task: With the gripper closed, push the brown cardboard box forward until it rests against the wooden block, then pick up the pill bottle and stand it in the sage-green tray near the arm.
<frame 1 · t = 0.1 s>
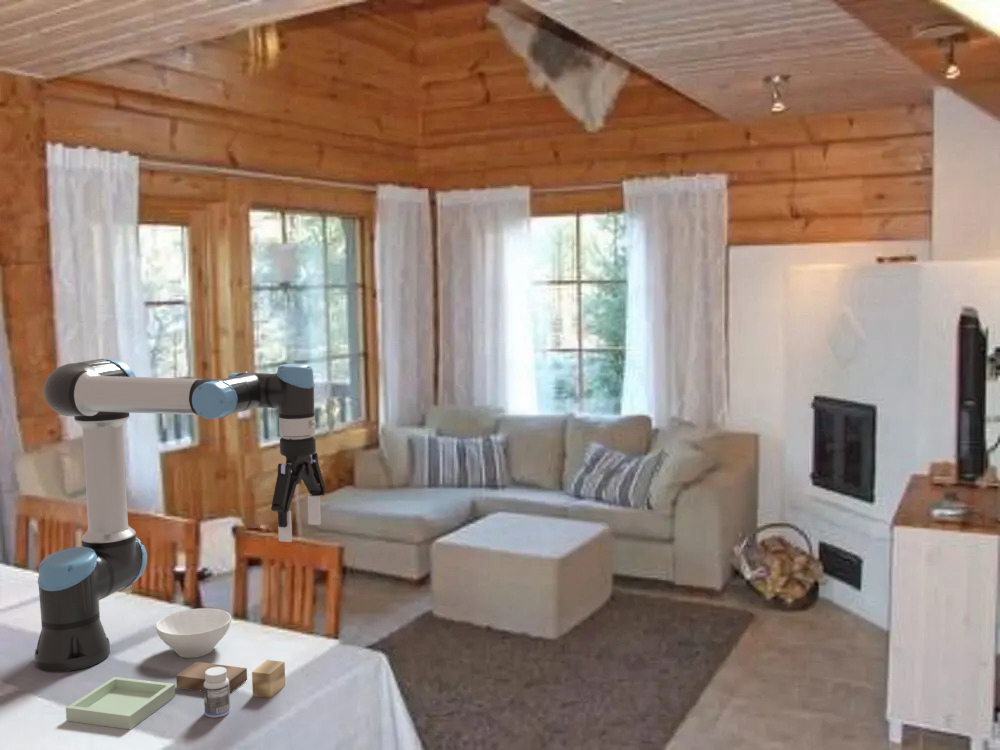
hand: (300, 532, 202), 28 cm above the table, fingers open, 13 cm apart
brown cardboard box: (212, 685, 192), on the table
tray: (122, 708, 181), on the table
pill bottle: (217, 713, 179), on the table
bowl: (195, 652, 209), on the table
wooden block: (269, 690, 189), on the table
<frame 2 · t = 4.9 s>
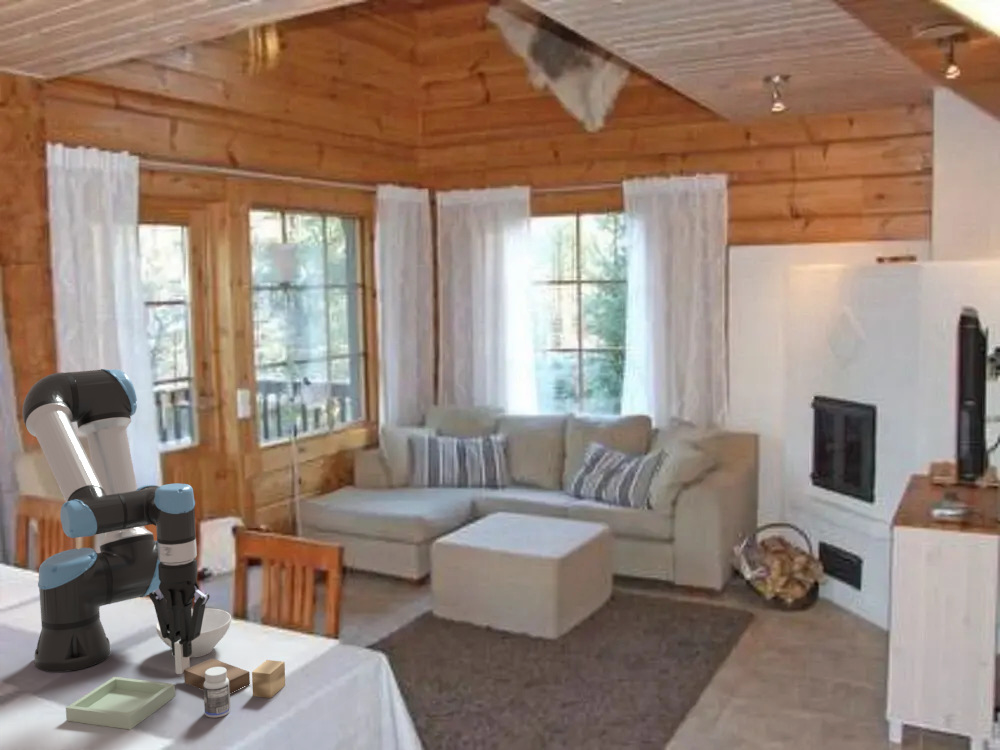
hand: (182, 670, 193), 2 cm above the table, fingers closed
brown cardboard box: (217, 684, 192), on the table, touching gripper
everything else where it was.
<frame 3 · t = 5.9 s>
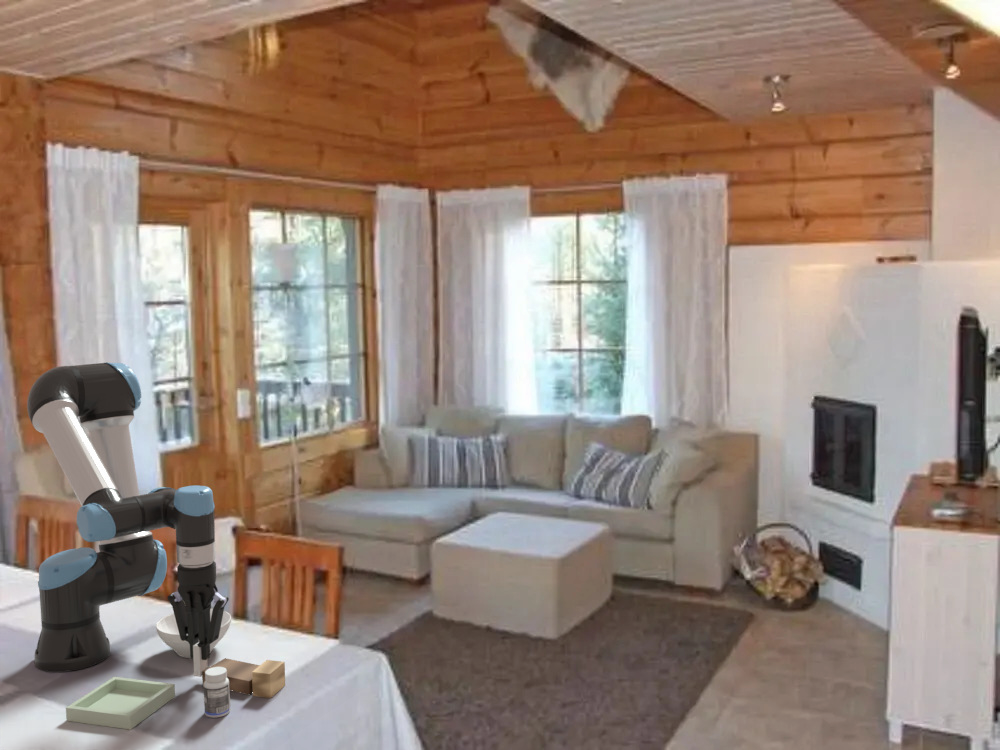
hand: (201, 673, 192), 2 cm above the table, fingers closed
brown cardboard box: (237, 683, 192), on the table, touching wooden block, gripper
everything else where it was.
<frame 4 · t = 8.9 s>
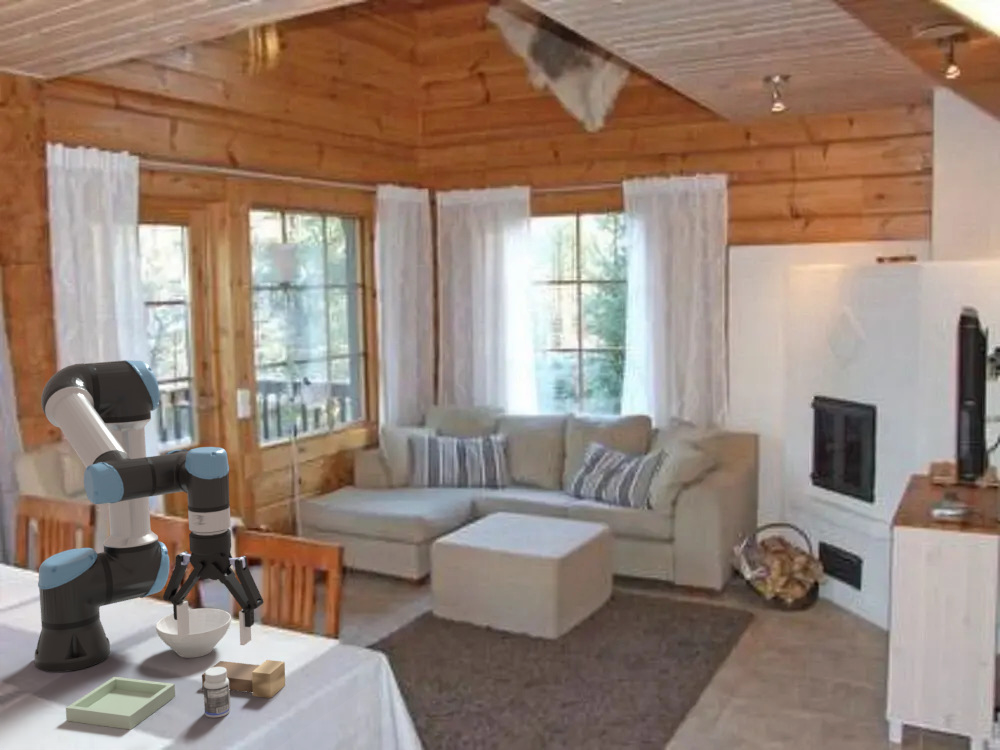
hand: (214, 639, 178), 15 cm above the table, fingers open, 13 cm apart
brown cardboard box: (237, 684, 192), on the table
everything else where it was.
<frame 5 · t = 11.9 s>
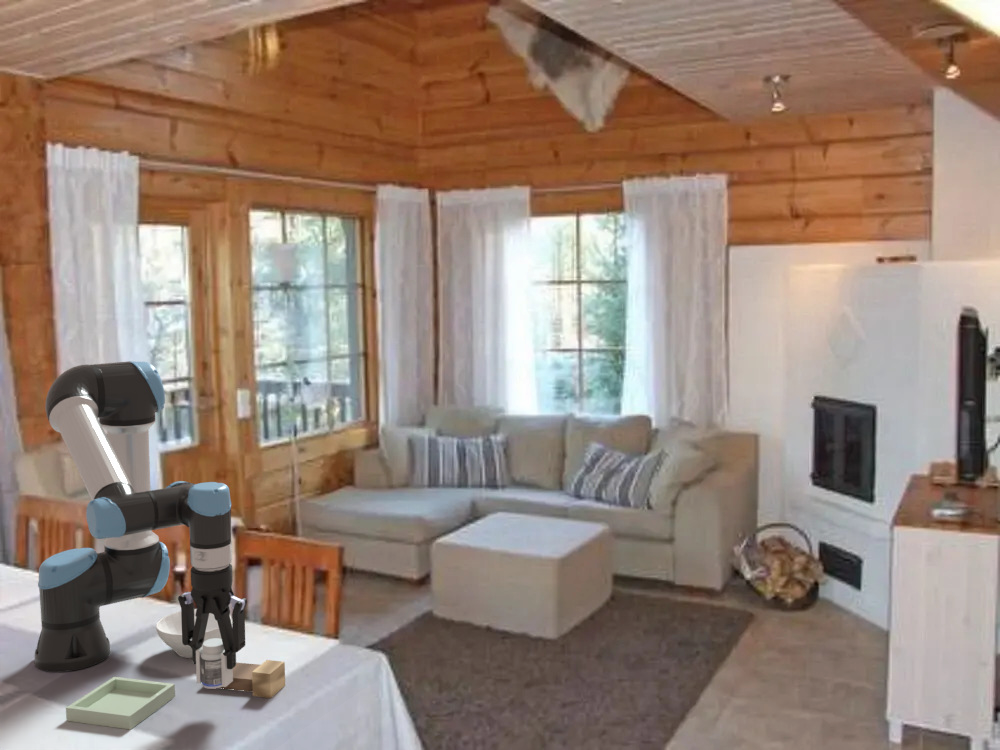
hand: (214, 681, 179), 6 cm above the table, fingers closed on pill bottle, 5 cm apart
pill bottle: (214, 684, 179), point 5 cm above the table, touching gripper
everything else where it was.
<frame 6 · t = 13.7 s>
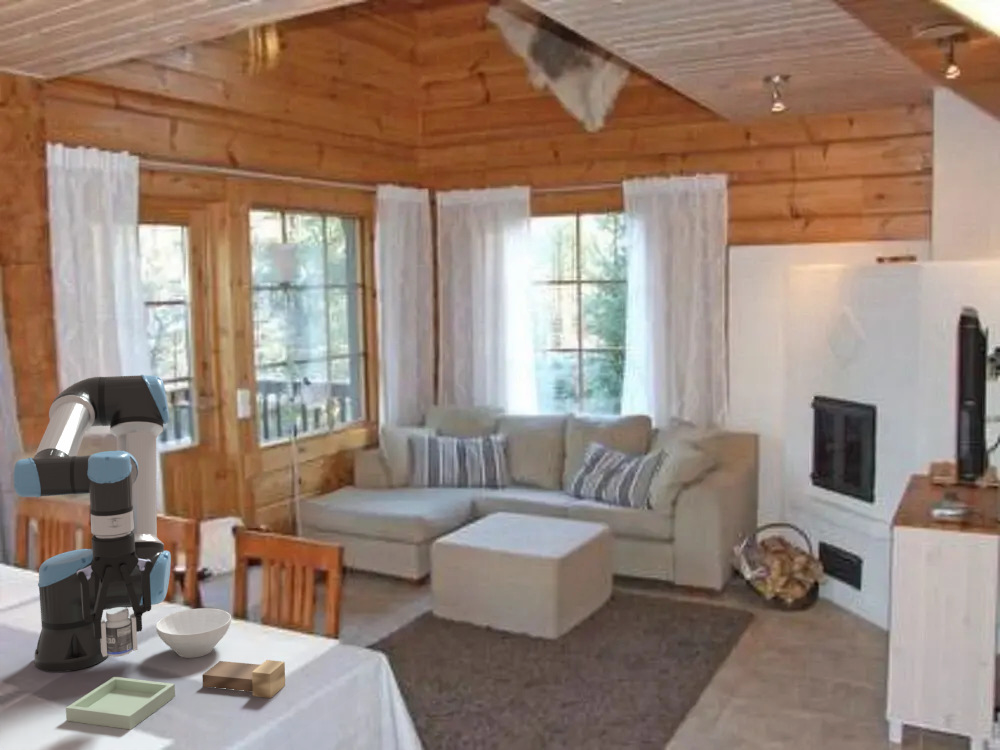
hand: (119, 650, 180), 12 cm above the table, fingers closed on pill bottle, 5 cm apart
pill bottle: (119, 653, 180), point 11 cm above the table, touching gripper
everything else where it was.
when the fingers open (2 cm above the table, at t = 15.6 s): pill bottle stays where it is, resting on tray.
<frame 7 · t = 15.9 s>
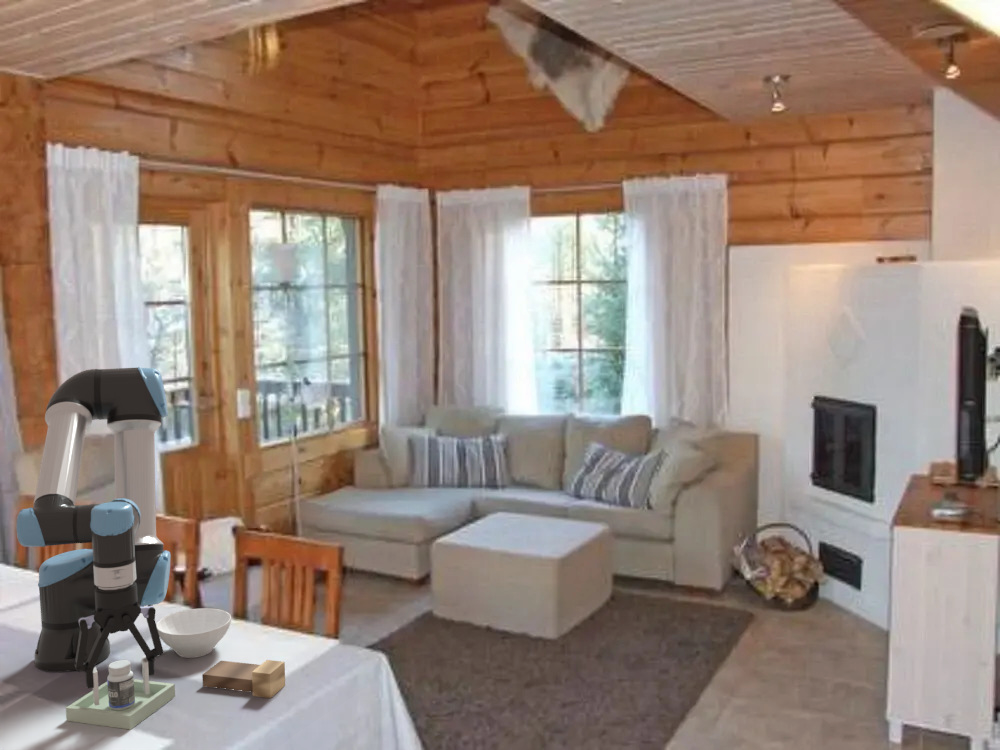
hand: (121, 696, 181), 2 cm above the table, fingers open, 8 cm apart
pill bottle: (122, 706, 181), resting on tray
everything else where it was.
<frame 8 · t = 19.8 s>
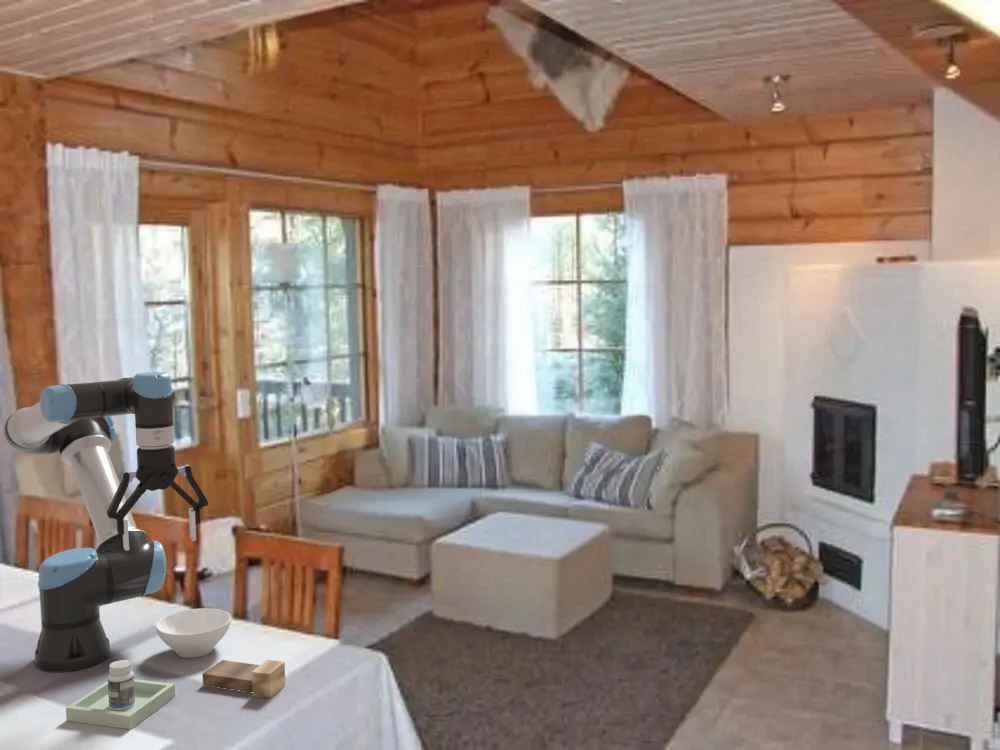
hand: (160, 544, 199), 27 cm above the table, fingers open, 13 cm apart
nothing on the table moved.
at the end: pill bottle inside the target area on the tray (0.1 cm from its centre), point 0.4 cm above the tray's base; pill bottle tilted 0°; brown cardboard box 2.0 cm from the target spot, on the table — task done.
